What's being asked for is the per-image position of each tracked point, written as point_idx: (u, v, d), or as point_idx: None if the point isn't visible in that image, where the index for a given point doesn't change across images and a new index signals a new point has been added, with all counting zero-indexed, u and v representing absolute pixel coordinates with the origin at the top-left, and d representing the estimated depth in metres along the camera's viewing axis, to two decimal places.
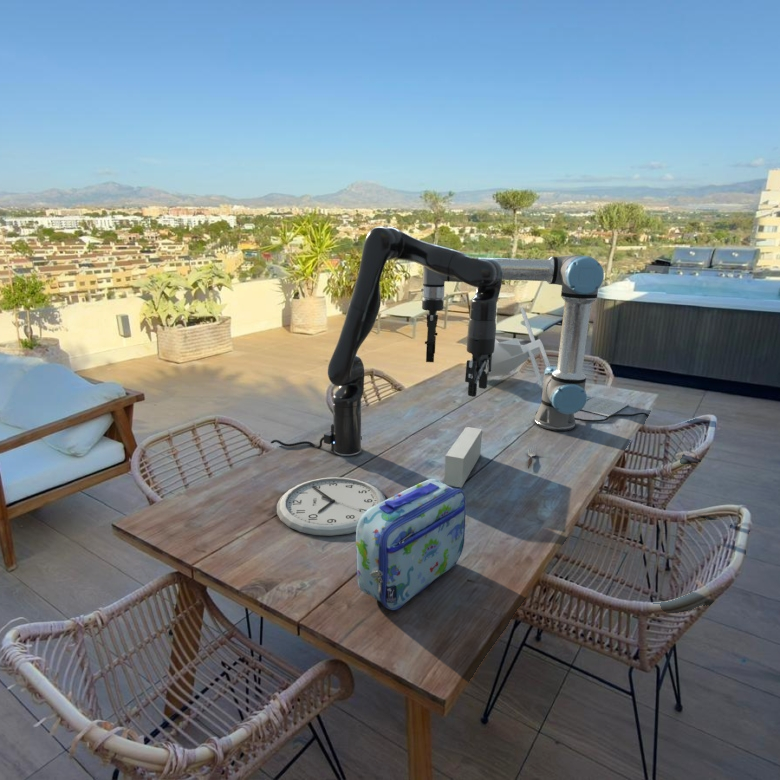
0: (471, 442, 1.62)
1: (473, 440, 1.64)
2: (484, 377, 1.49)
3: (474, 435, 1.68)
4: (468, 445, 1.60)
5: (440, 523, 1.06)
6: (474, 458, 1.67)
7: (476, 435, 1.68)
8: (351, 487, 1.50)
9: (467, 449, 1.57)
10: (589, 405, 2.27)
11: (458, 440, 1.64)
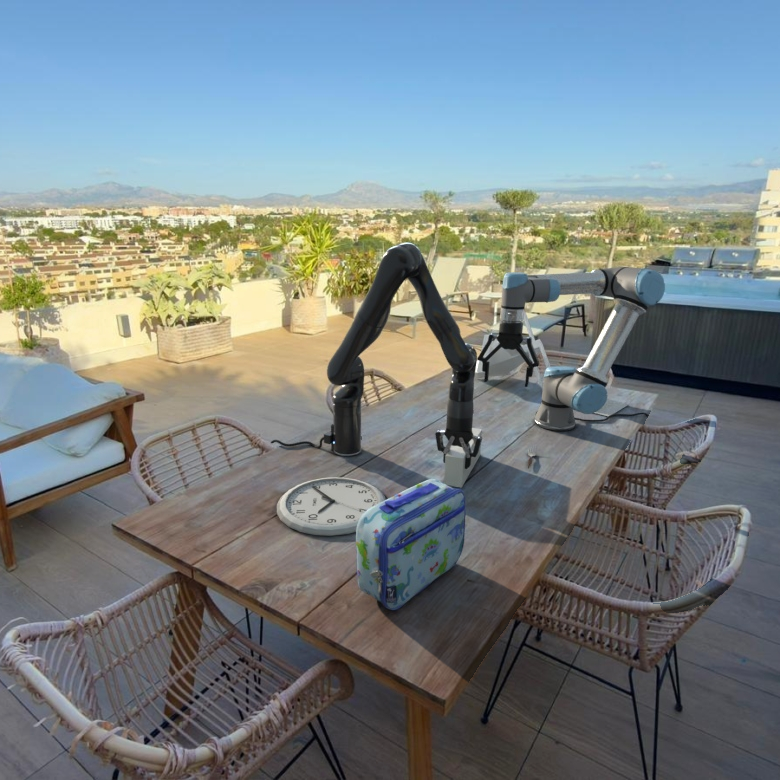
0: (471, 442, 1.62)
1: None
2: None
3: (474, 435, 1.68)
4: None
5: (440, 523, 1.06)
6: (474, 458, 1.67)
7: (476, 435, 1.68)
8: (351, 487, 1.50)
9: None
10: None
11: None
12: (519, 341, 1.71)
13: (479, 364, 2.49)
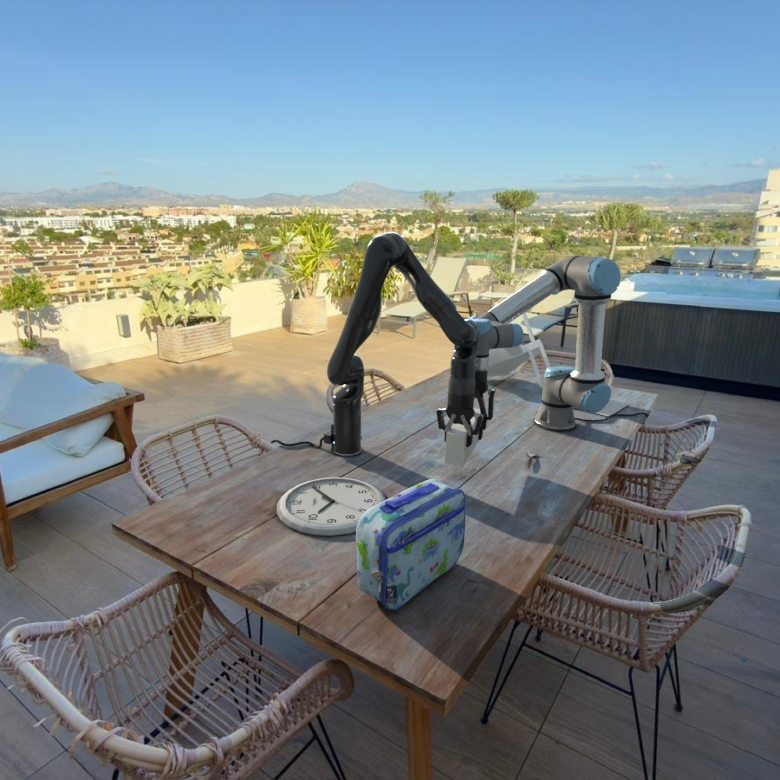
0: (472, 421, 1.60)
1: (474, 419, 1.62)
2: None
3: None
4: None
5: (440, 523, 1.06)
6: (475, 438, 1.65)
7: None
8: (351, 487, 1.50)
9: None
10: None
11: None
12: (484, 389, 1.64)
13: None
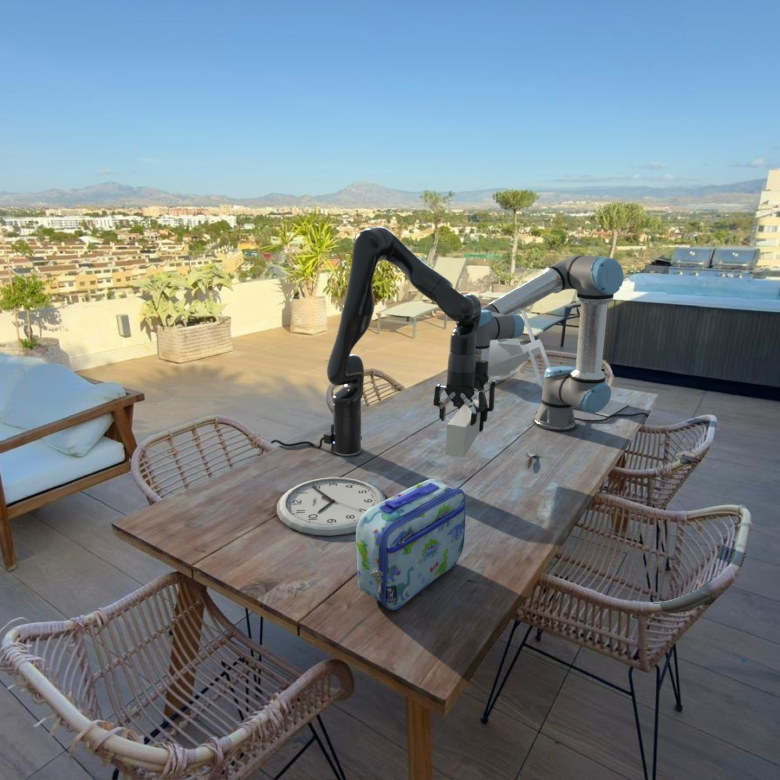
0: None
1: None
2: (445, 409, 1.50)
3: None
4: (470, 415, 1.57)
5: (440, 523, 1.06)
6: (476, 429, 1.64)
7: (478, 406, 1.65)
8: (351, 487, 1.50)
9: (469, 419, 1.54)
10: None
11: (460, 411, 1.61)
12: (484, 381, 1.63)
13: None
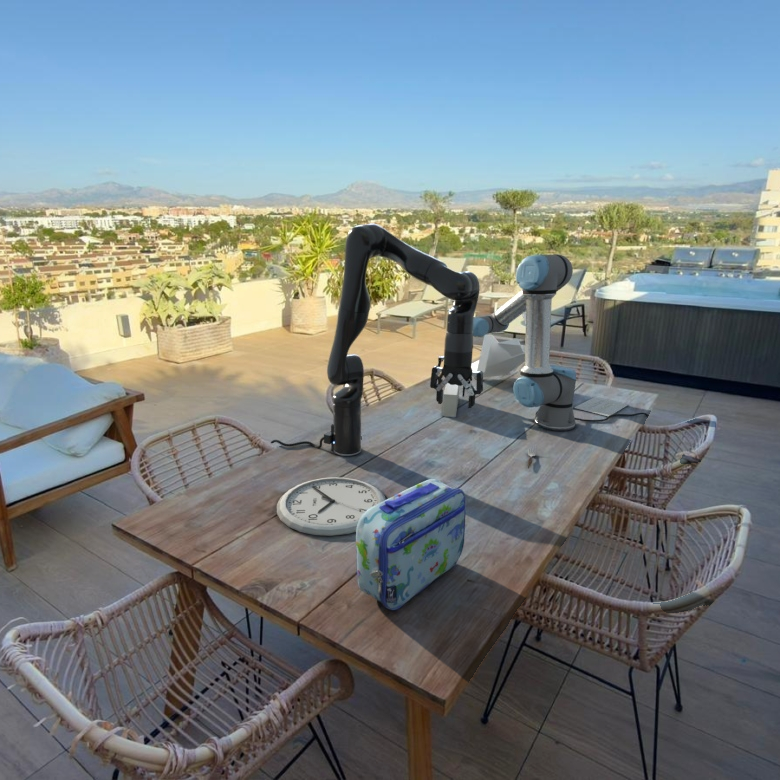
0: (456, 385, 2.20)
1: None
2: (442, 392, 1.46)
3: None
4: (456, 387, 2.18)
5: (440, 523, 1.06)
6: None
7: None
8: (351, 487, 1.50)
9: (456, 389, 2.15)
10: (589, 405, 2.27)
11: (447, 385, 2.21)
12: None
13: (479, 364, 2.49)
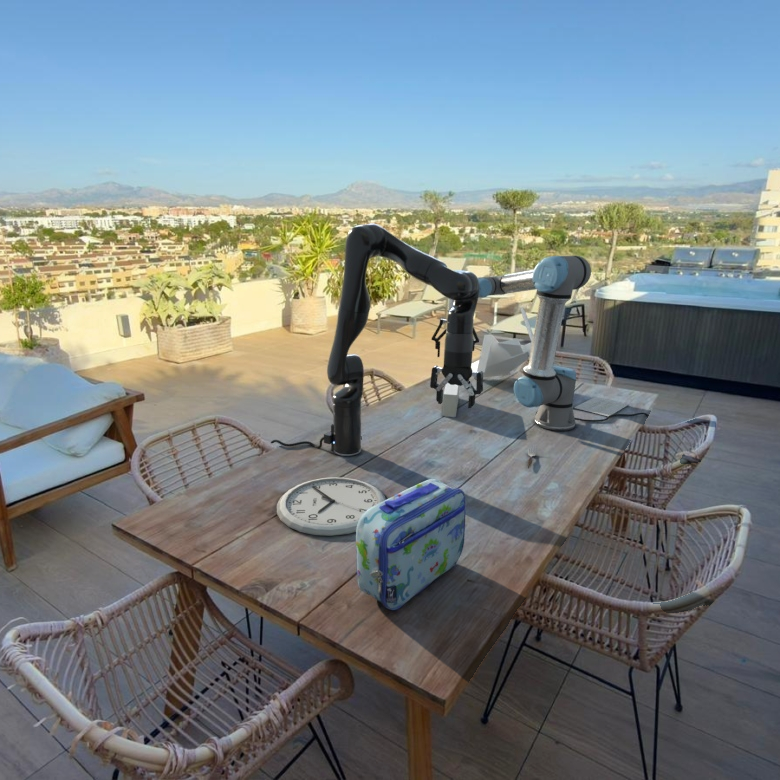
0: (456, 385, 2.20)
1: None
2: (442, 392, 1.46)
3: None
4: (456, 387, 2.18)
5: (440, 523, 1.06)
6: None
7: None
8: (351, 487, 1.50)
9: (456, 389, 2.15)
10: (589, 405, 2.27)
11: (447, 385, 2.21)
12: None
13: (479, 364, 2.49)
